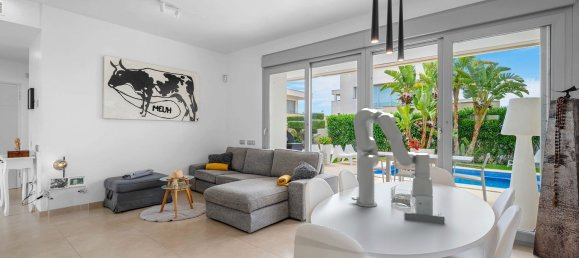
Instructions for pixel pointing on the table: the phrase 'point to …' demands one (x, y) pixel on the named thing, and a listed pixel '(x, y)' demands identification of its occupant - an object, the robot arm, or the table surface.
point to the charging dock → (424, 217)
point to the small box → (424, 205)
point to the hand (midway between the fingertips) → (422, 207)
